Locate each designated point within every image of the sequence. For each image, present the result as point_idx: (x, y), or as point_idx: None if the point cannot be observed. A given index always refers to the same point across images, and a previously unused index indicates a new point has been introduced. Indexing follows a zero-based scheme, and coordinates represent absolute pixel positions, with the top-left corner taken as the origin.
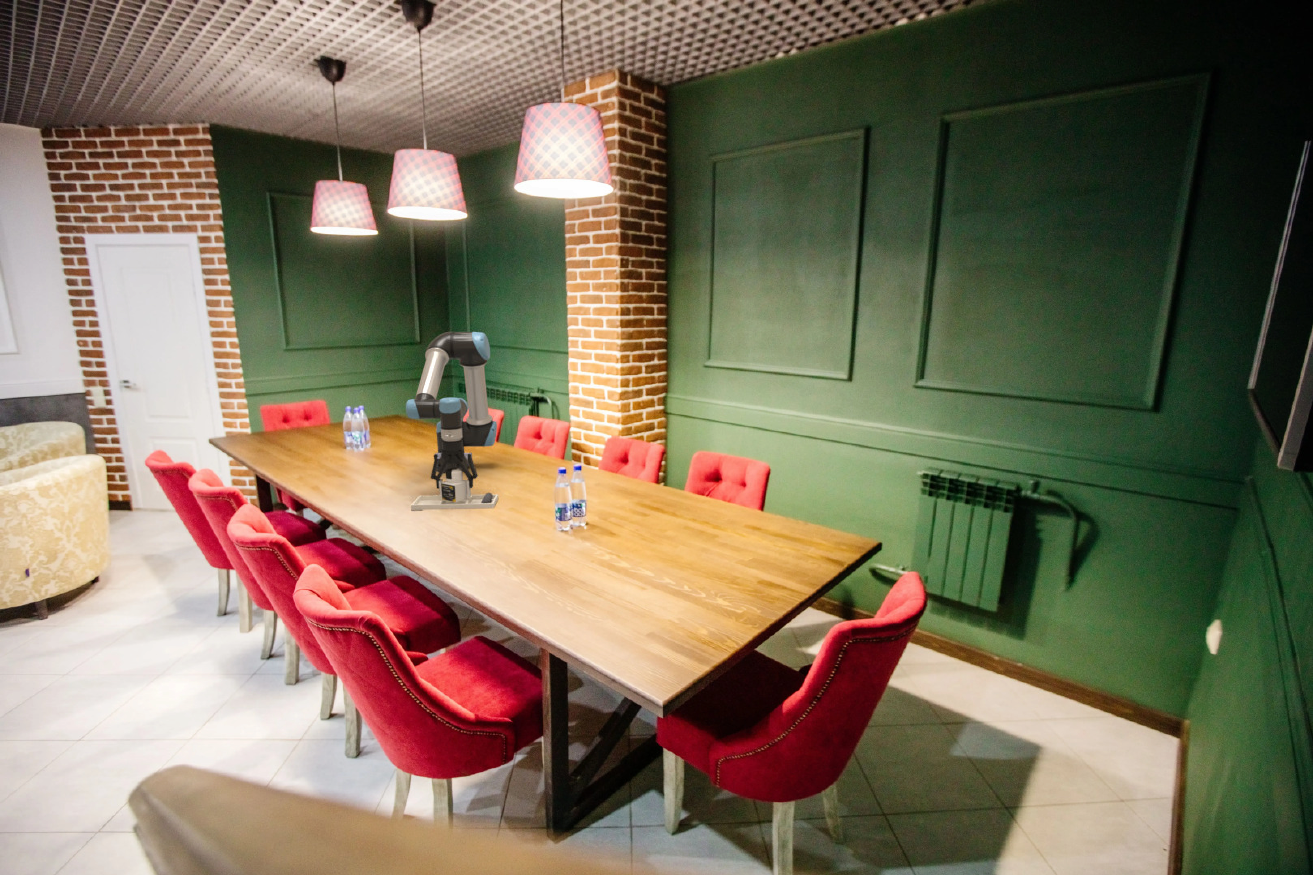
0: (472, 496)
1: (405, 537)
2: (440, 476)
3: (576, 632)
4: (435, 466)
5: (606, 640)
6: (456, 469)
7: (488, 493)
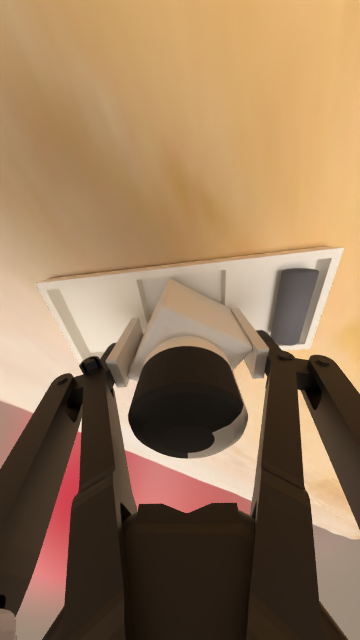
0: (233, 267)
1: None
2: (116, 408)
3: (333, 524)
4: (51, 492)
5: (348, 526)
6: (212, 447)
7: (308, 284)
